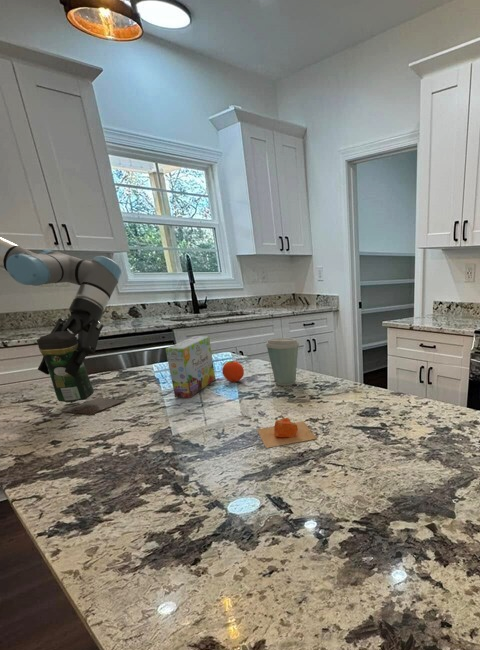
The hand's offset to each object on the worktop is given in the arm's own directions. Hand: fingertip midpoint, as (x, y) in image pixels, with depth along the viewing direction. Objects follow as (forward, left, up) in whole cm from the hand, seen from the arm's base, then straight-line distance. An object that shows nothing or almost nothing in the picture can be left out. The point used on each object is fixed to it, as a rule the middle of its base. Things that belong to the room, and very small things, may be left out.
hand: (56, 373), depth 114 cm
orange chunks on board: (+69, -2, -11) cm, 70 cm away
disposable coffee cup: (+49, +38, -11) cm, 63 cm away
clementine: (+30, +36, -11) cm, 48 cm away
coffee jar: (0, +3, -8) cm, 9 cm away
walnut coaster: (+6, +3, -10) cm, 12 cm away
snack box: (+23, +26, -11) cm, 36 cm away
